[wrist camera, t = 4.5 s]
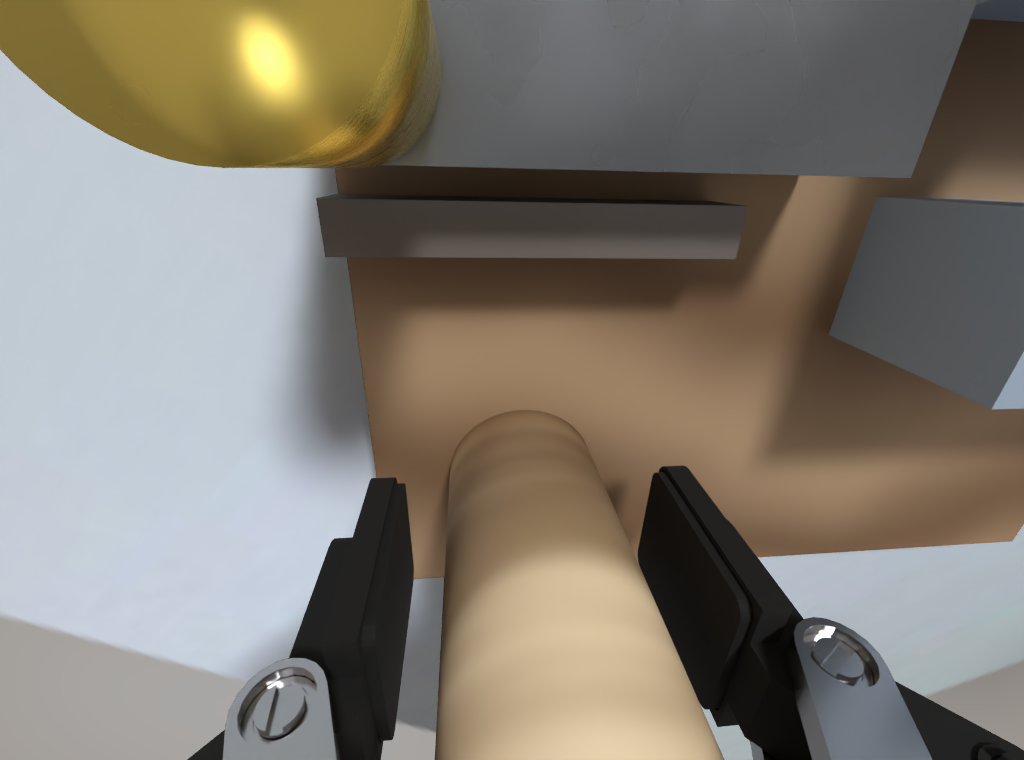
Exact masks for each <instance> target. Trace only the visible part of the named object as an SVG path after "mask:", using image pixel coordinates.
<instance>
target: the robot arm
mask: <svg viewBox="0 0 1024 760" xmlns="http://www.w3.org/2000/svg"><path fill="white" fill-rule="evenodd" d="M638 562H639V566H640V568H641V571H642V573H643V575H644V577H645V580H646V582H647V584H648V587H649V589H650V591H651V593H652V596H653V598H654V600H655V603H656V605H657V607H658V609H659V612H660V614H661V616H662V619H663V621H664V623H665V625H666V628H667V630H668V632H669V635H670V637H671V639H672V641H673V644H674V646H675V648H676V650H677V653H678V655H679V657H680V660H681V662H682V664H683V666H684V669H685V671H686V673H687V676H688V678H689V680H690V682H691V685H692V687H693V689H694V691H695V694H696V696H697V698H698V700H699V702H700V704H701V706H702V707H703V708H704V709H710V711H711V713H712V716H713V718H714V720H715V722H716V725H717V727H721V726H731V725H739V726H740V728H741V730H742V732H743V734H744V736H745V737H746V738H747V739H749V740H750V744H751V750H752V756H753V760H1024V751H1023V750H1022V749H1020V748H1019V747H1017V746H1015V745H1013V744H1011V743H1010V742H1008V741H1006V740H1004V739H1002V738H1000V737H998V736H996V735H995V734H992V733H991V732H989V731H987V730H985V729H983V728H981V727H980V726H978V725H976V724H974V723H972V722H970V721H968V720H967V719H964V718H963V717H961V716H959V715H957V714H955V713H953V712H952V711H949V710H948V709H946V708H944V707H942V706H940V705H939V704H937V703H935V702H933V701H931V700H929V699H927V698H925V697H924V696H922V695H920V694H918V693H916V692H914V691H912V690H910V689H909V688H907V687H905V686H903V685H901V684H899V683H897V682H896V681H894V679H893V677H892V675H891V673H890V671H889V669H888V667H887V665H886V663H885V662H884V660H883V659H882V657H881V656H880V654H879V653H878V652H877V651H876V650H875V649H874V647H873V646H872V645H871V644H870V643H869V642H868V641H867V640H865V639H864V638H863V637H861V636H860V635H859V634H857V633H856V632H855V631H853V630H851V629H849V628H847V627H846V626H844V625H842V624H840V623H837V622H834V621H831V620H828V619H824V618H815V617H813V618H807V619H803V618H802V616H801V615H800V614H799V612H798V611H797V610H796V608H795V607H794V606H793V604H792V603H791V602H790V600H789V599H788V598H787V596H786V595H785V594H784V592H783V591H782V590H781V588H780V587H779V586H778V584H777V583H776V582H775V580H774V579H773V578H772V576H771V575H770V574H769V572H768V571H767V570H766V568H765V567H764V566H763V564H762V563H761V562H760V560H759V559H758V558H757V556H756V555H755V554H754V552H753V551H752V550H751V548H750V547H749V546H748V544H747V543H746V542H745V540H744V539H743V538H742V536H741V535H740V534H739V532H738V531H737V530H736V528H735V527H734V526H733V525H732V524H731V523H730V521H729V520H727V519H726V518H725V517H724V515H723V514H722V513H721V511H720V510H719V509H718V507H717V506H716V505H715V503H714V502H713V501H712V499H711V498H710V497H709V495H708V494H707V493H706V491H705V490H704V489H703V487H702V486H701V484H700V483H699V482H698V480H697V479H696V478H695V476H694V475H693V474H692V472H691V471H690V470H689V469H688V468H687V467H686V466H684V465H682V466H663V467H661V468H660V469H659V472H656V473H654V474H653V476H652V480H651V486H650V491H649V496H648V501H647V506H646V511H645V516H644V521H643V526H642V532H641V537H640V542H639V547H638ZM413 579H414V563H413V553H412V543H411V533H410V523H409V514H408V504H407V494H406V485H405V483H397V479H396V478H395V477H391V478H372V479H371V480H370V483H369V486H368V489H367V493H366V496H365V499H364V502H363V506H362V509H361V512H360V516H359V519H358V522H357V525H356V529H355V532H354V535H353V538H337V539H334V540H333V541H332V542H331V544H330V546H329V548H328V551H327V554H326V557H325V560H324V562H323V565H322V568H321V571H320V573H319V576H318V579H317V582H316V585H315V587H314V590H313V593H312V596H311V599H310V601H309V604H308V607H307V610H306V612H305V615H304V618H303V621H302V624H301V626H300V629H299V632H298V635H297V637H296V640H295V643H294V646H293V649H292V651H291V654H290V657H289V659H286V660H282V661H278V662H276V663H274V664H272V665H270V666H268V667H266V668H264V669H263V670H261V671H260V672H259V673H258V674H256V675H255V676H254V677H253V678H251V679H250V680H249V681H248V682H247V683H246V685H245V686H244V687H243V688H242V689H241V691H240V692H239V693H238V694H237V696H236V698H235V700H234V701H233V703H232V705H231V707H230V709H229V712H228V716H227V721H226V725H225V730H224V731H223V732H221V733H220V734H219V735H218V736H216V737H215V738H214V739H213V740H211V741H210V742H209V743H208V744H206V745H205V746H204V747H203V748H201V749H200V750H199V751H198V752H196V753H195V754H194V755H193V756H191V757H190V758H189V759H188V760H381V753H382V746H383V741H385V740H392V739H393V736H394V731H395V724H396V716H397V708H398V700H399V692H400V684H401V676H402V668H403V660H404V652H405V644H406V636H407V628H408V620H409V612H410V604H411V596H412V588H413Z"/></svg>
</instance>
